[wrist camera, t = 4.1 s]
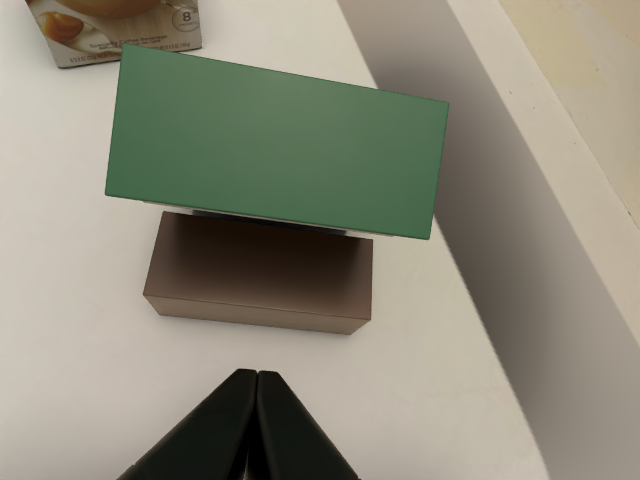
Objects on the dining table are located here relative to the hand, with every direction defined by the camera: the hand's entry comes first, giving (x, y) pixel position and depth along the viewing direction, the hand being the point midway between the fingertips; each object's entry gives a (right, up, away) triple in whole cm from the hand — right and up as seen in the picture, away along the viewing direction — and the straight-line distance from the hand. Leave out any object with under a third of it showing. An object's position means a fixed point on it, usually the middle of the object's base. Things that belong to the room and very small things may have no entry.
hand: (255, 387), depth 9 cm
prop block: (-2, 0, +14) cm, 14 cm away
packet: (-1, +6, +16) cm, 17 cm away
